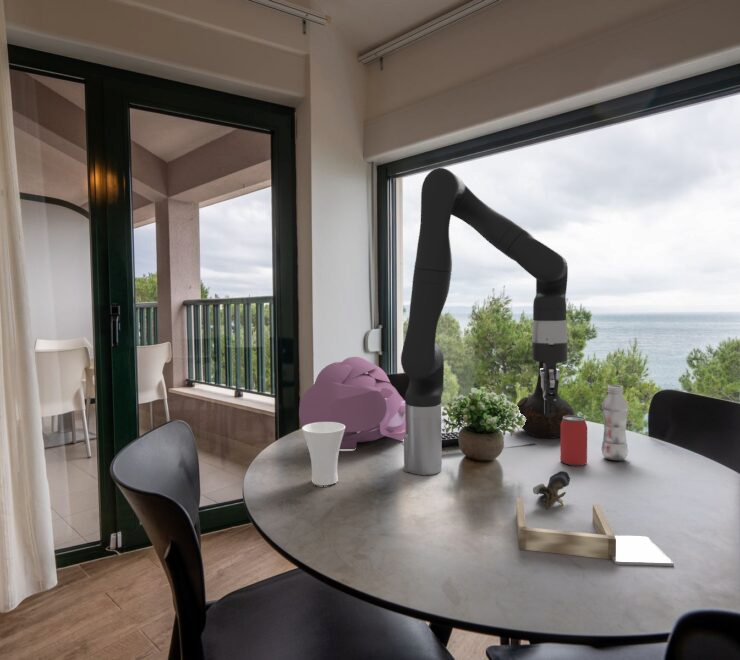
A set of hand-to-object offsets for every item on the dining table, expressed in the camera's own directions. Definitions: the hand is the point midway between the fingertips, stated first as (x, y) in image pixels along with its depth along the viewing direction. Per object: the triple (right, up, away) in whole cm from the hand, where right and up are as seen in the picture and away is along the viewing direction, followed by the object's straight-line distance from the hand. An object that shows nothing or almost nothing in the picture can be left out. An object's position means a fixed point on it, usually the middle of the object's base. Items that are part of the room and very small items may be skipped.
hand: (549, 416), depth 111 cm
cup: (-52, -18, +7) cm, 55 cm away
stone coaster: (+4, -18, -27) cm, 33 cm away
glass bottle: (+15, -14, +46) cm, 51 cm away
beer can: (+13, -16, +19) cm, 28 cm away
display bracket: (-6, -18, -21) cm, 28 cm away
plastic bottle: (+25, -16, +21) cm, 36 cm away
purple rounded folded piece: (-43, -16, +41) cm, 61 cm away
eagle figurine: (-2, -18, -7) cm, 19 cm away
